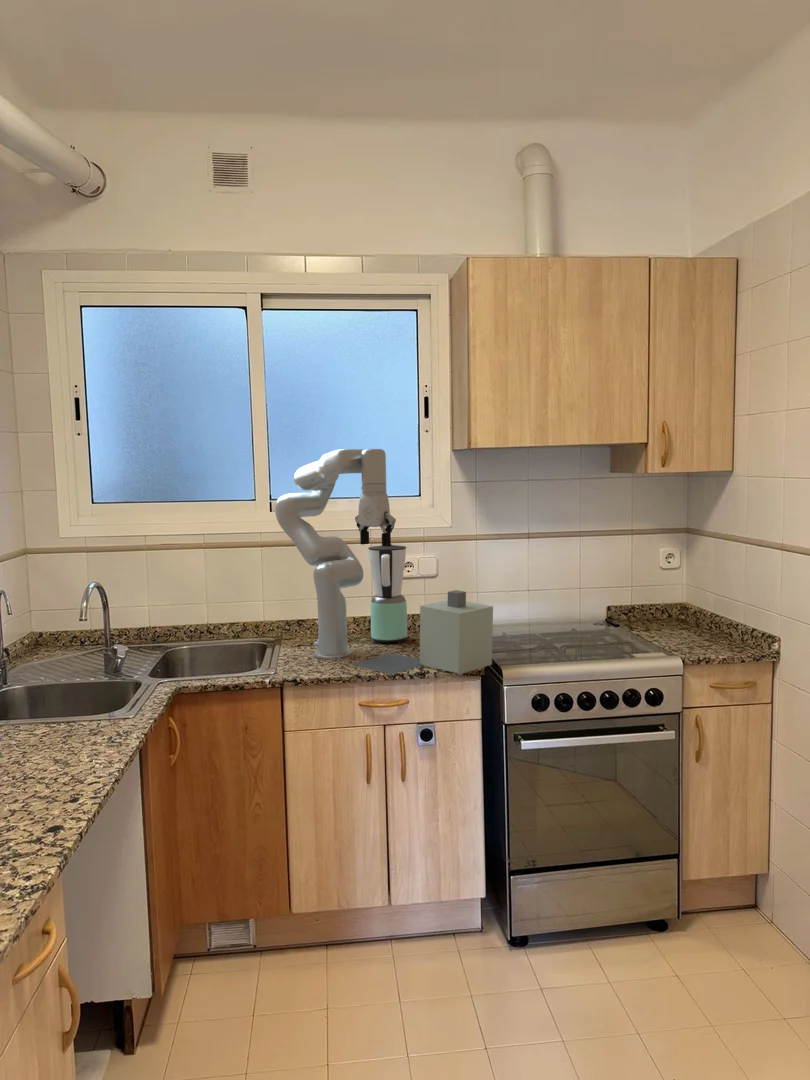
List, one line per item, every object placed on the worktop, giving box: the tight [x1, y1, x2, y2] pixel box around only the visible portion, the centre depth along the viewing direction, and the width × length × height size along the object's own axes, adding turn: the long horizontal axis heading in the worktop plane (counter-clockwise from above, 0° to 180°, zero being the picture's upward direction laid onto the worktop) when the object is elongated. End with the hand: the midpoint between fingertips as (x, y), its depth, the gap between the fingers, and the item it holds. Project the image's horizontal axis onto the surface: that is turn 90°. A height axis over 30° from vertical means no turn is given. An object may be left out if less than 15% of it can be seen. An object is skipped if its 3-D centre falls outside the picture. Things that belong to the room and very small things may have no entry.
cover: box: [419, 589, 494, 676], centre depth 229 cm, size 16×16×23 cm
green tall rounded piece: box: [367, 543, 408, 645], centre depth 261 cm, size 19×13×35 cm
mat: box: [352, 653, 423, 675], centre depth 232 cm, size 18×18×1 cm
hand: (375, 545), depth 227 cm, fingers open, 9 cm apart
